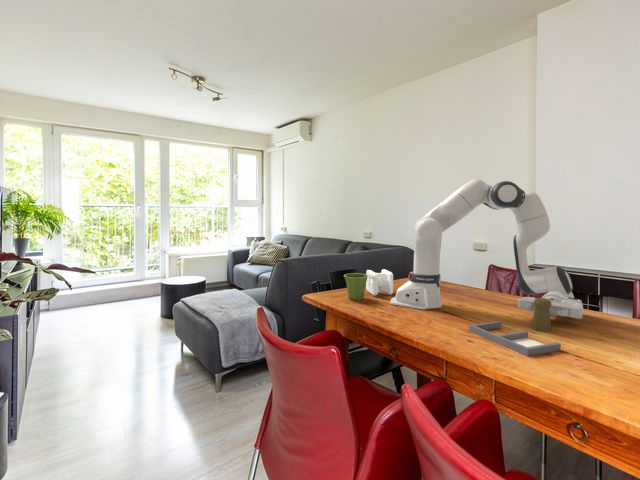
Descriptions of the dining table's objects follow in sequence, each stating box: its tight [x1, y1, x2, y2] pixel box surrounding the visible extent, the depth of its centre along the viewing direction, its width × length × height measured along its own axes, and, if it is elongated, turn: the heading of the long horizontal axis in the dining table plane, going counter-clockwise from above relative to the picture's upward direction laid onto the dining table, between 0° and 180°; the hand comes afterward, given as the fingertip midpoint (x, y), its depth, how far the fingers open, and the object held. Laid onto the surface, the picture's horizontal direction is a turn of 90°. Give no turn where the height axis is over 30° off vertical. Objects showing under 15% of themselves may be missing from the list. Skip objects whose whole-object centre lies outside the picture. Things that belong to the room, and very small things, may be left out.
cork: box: [530, 297, 552, 333], centre depth 120 cm, size 6×6×11 cm
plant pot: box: [343, 272, 368, 301], centre depth 164 cm, size 12×12×11 cm
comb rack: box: [468, 320, 562, 357], centre depth 110 cm, size 13×23×2 cm, turn 19°
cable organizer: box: [365, 268, 394, 297], centre depth 174 cm, size 15×11×12 cm
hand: (543, 310), depth 122 cm, fingers open, 8 cm apart
